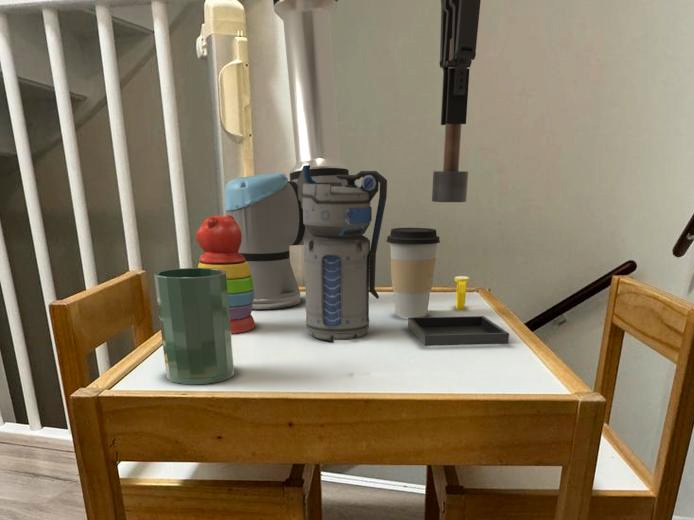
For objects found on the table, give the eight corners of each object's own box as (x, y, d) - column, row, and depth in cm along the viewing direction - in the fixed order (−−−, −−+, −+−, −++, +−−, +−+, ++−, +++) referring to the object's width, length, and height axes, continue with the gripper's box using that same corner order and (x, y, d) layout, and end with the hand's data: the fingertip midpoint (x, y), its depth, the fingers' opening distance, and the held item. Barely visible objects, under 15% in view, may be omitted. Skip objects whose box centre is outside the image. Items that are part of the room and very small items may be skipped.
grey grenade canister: (379, 345, 103) (383, 166, 92) (296, 341, 105) (289, 165, 94) (386, 330, 112) (390, 165, 101) (309, 327, 114) (305, 165, 103)
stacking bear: (225, 318, 120) (216, 211, 112) (270, 325, 115) (264, 214, 107) (181, 330, 111) (169, 215, 103) (228, 337, 107) (218, 218, 99)
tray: (407, 329, 113) (408, 317, 112) (482, 327, 115) (483, 315, 114) (424, 348, 101) (425, 335, 100) (508, 346, 103) (509, 333, 102)
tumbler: (171, 367, 91) (159, 268, 86) (235, 365, 92) (227, 267, 87) (163, 385, 83) (149, 278, 78) (232, 383, 85) (224, 277, 79)
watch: (452, 305, 132) (454, 274, 129) (466, 306, 132) (468, 274, 129) (453, 311, 127) (455, 279, 124) (468, 312, 126) (470, 279, 124)
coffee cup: (443, 320, 119) (448, 231, 113) (392, 322, 117) (395, 232, 111) (426, 310, 128) (430, 226, 121) (379, 312, 126) (380, 227, 119)
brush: (428, 200, 99) (435, 41, 91) (461, 200, 100) (471, 42, 91) (436, 202, 95) (444, 35, 86) (470, 202, 96) (481, 36, 87)
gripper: (423, -72, 89) (416, 126, 100) (450, -115, 76) (439, 120, 86) (477, -69, 90) (464, 127, 100) (514, -111, 77) (495, 121, 87)
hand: (453, 124), depth 93 cm, fingers closed on brush, 2 cm apart
